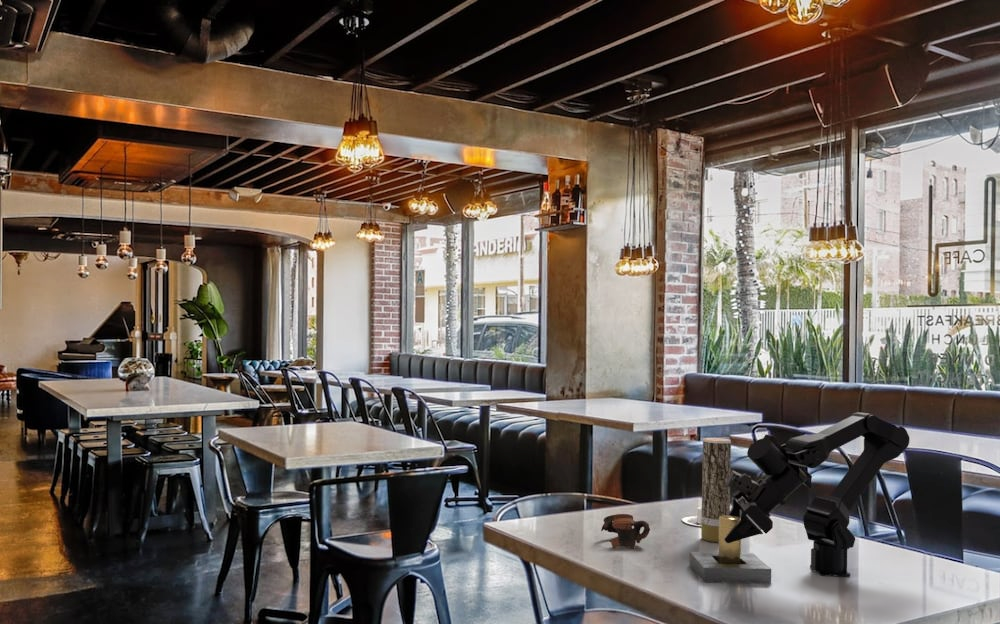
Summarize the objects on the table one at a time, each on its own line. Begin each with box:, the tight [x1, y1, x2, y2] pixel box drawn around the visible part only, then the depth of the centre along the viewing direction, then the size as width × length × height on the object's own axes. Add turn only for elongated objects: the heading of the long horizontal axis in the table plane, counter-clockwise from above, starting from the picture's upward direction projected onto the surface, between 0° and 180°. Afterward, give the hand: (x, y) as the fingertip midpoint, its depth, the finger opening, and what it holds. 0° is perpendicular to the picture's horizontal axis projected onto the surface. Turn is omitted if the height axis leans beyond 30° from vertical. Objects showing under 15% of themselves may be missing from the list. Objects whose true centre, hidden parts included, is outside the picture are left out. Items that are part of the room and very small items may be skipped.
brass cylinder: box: [718, 516, 742, 564], centre depth 176 cm, size 5×5×12 cm
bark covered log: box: [700, 437, 732, 543], centre depth 205 cm, size 7×7×25 cm
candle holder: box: [681, 506, 702, 527], centre depth 223 cm, size 12×12×4 cm
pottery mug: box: [600, 513, 651, 549], centre depth 199 cm, size 12×9×8 cm
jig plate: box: [689, 551, 772, 584], centre depth 176 cm, size 14×12×3 cm
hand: (723, 536), depth 176 cm, fingers open, 9 cm apart
